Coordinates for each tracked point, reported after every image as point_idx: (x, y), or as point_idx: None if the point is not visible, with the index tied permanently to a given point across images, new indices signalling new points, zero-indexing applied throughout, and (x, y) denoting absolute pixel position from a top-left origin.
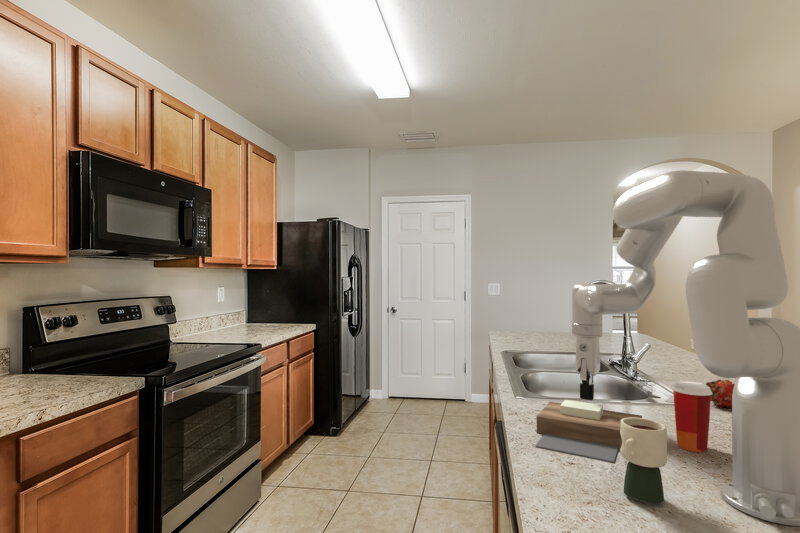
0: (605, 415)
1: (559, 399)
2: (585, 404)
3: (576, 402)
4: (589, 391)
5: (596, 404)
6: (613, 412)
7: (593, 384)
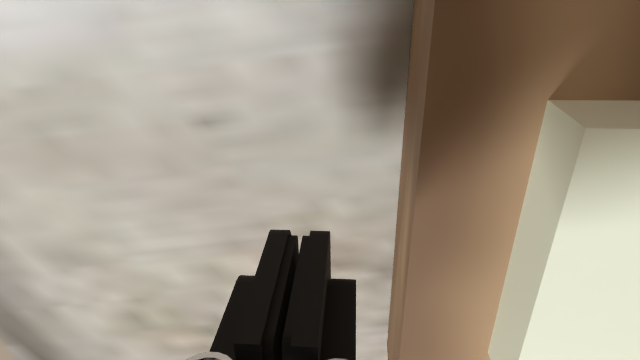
0: (625, 67)
1: (48, 342)
2: (617, 274)
3: (567, 337)
4: (328, 312)
5: (581, 188)
6: (480, 4)
7: (257, 344)
